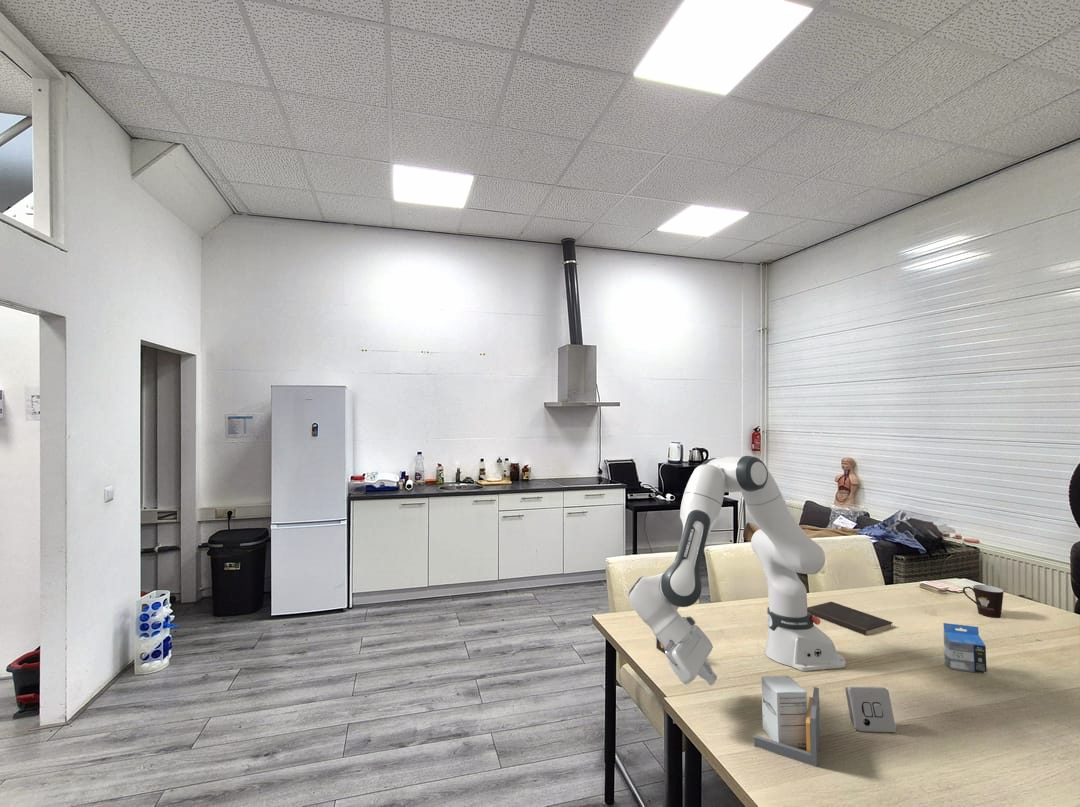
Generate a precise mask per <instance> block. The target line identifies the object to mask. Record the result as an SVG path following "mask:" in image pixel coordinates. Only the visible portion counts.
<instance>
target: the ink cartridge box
mask: <svg viewBox="0 0 1080 807" xmlns="http://www.w3.org/2000/svg"><path fill="white" fill-rule="evenodd" d="M957 629H958V630H957ZM959 629H962V630H959ZM964 630H966V631H964ZM979 633H980V631H979V627H978V626H974V625H973V626H972V625H964V624H956V623H947V622H943V652H944V653H943V654H944V655H943V656H944V657H943V658H944V664H945V665H946V666H947V667H948V668H949V669H950V670H955V671H962V672H970V673H978V674H985V675H987V674H988V670H987V669H988V667H987V650H986V649H987V647H986V644H985V643H984V641H983V639H982V638H981V636H980V635H979Z"/></svg>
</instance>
